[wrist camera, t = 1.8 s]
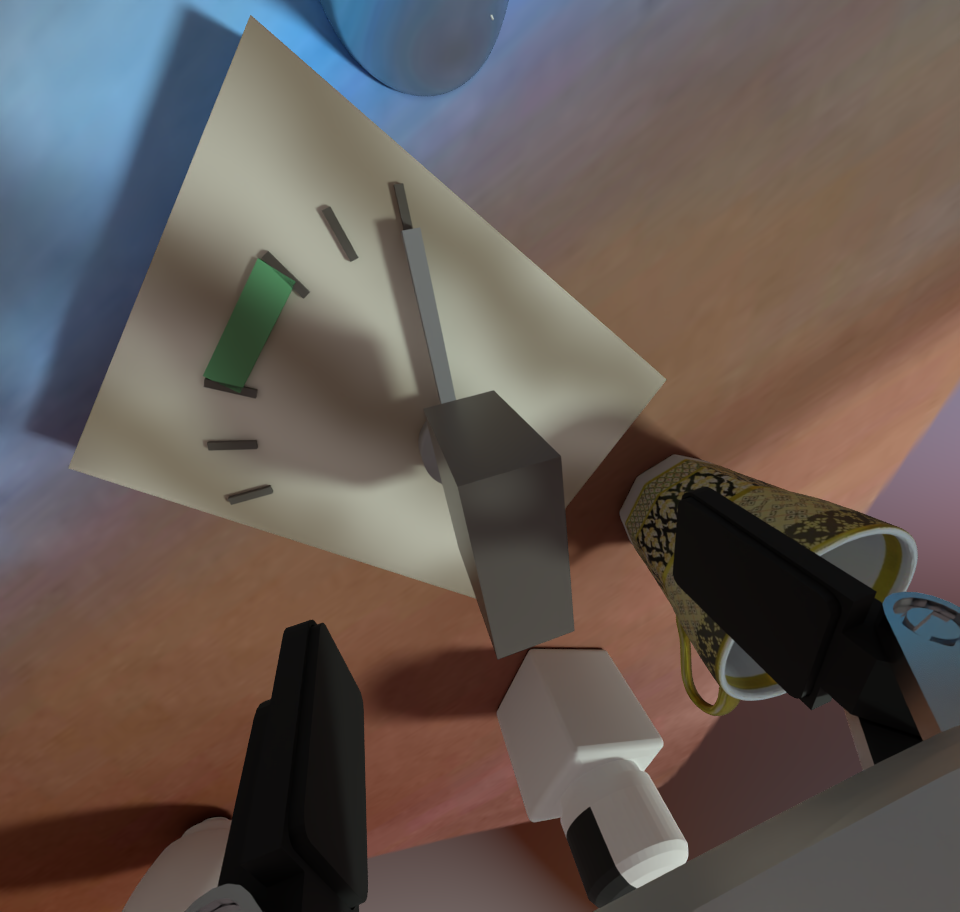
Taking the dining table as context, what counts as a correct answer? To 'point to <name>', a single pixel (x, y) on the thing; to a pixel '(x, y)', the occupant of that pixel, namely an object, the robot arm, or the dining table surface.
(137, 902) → the white air blower bulb
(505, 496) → the grey block on stem
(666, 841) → the medicine bottle
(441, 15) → the beer glass
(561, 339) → the tuner board
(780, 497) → the ceramic cup
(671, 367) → the dining table surface
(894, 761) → the robot arm
